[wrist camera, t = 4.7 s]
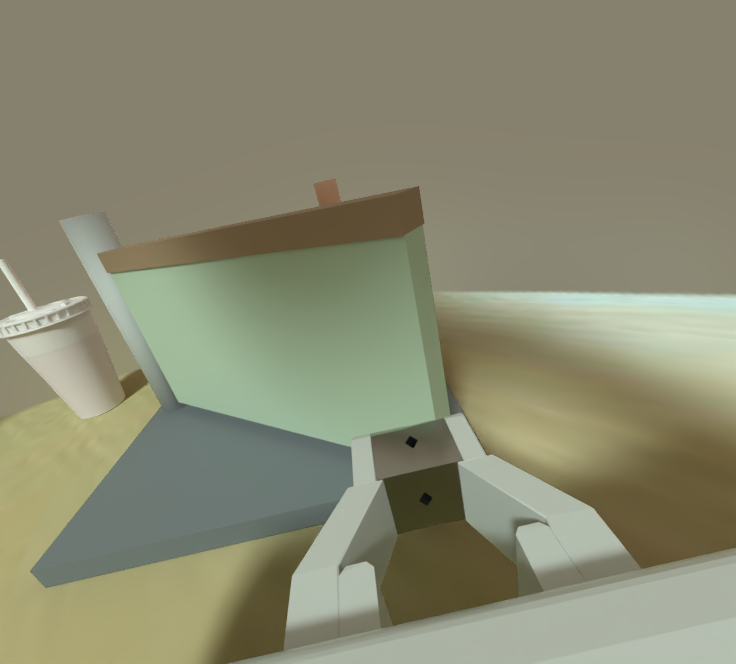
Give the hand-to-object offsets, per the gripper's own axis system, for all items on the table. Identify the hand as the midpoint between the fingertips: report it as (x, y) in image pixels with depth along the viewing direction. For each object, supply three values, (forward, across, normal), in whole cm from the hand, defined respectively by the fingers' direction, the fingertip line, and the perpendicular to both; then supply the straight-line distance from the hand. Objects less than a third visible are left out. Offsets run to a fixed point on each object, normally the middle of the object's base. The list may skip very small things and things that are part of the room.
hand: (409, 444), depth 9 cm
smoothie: (+21, +26, +7) cm, 34 cm away
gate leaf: (+10, +6, +5) cm, 13 cm away
